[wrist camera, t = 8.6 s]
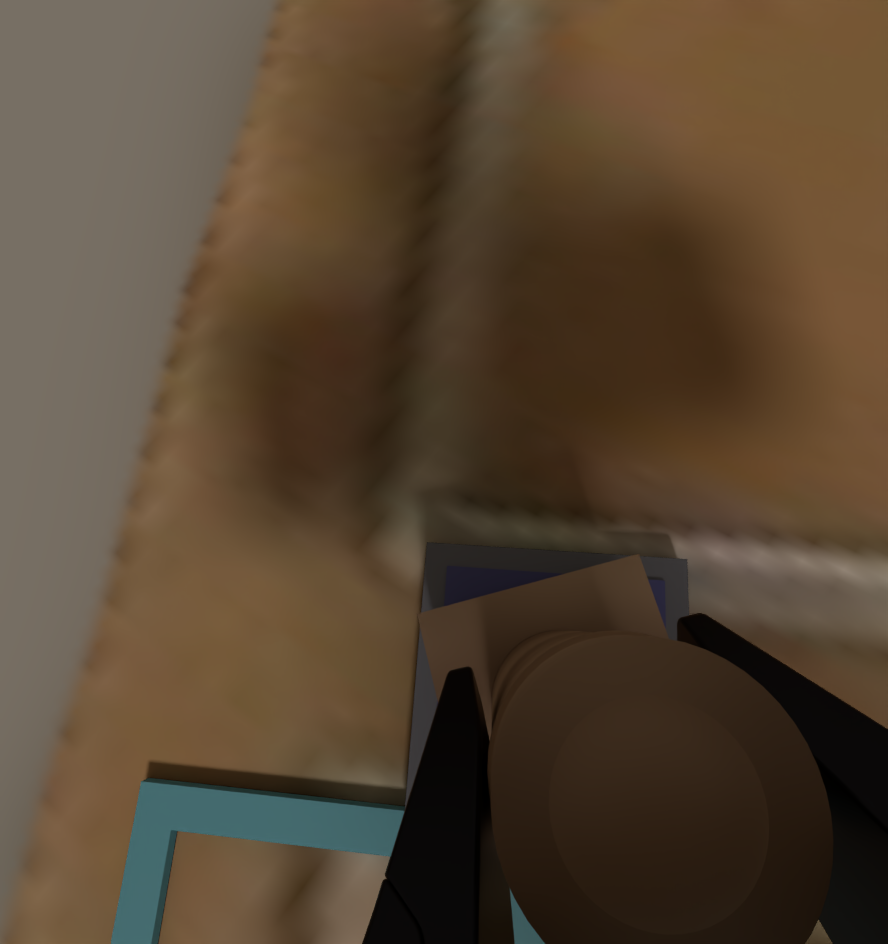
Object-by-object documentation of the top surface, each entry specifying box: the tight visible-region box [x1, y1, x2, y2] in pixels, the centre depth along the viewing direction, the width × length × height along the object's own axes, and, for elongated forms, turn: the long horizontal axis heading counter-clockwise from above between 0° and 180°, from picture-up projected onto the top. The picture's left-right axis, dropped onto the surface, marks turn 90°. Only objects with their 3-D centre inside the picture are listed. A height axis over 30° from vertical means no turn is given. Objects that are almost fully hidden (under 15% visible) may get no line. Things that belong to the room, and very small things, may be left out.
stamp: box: [417, 554, 833, 944], centre depth 11 cm, size 6×6×10 cm
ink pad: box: [405, 542, 689, 808], centre depth 17 cm, size 8×8×1 cm
